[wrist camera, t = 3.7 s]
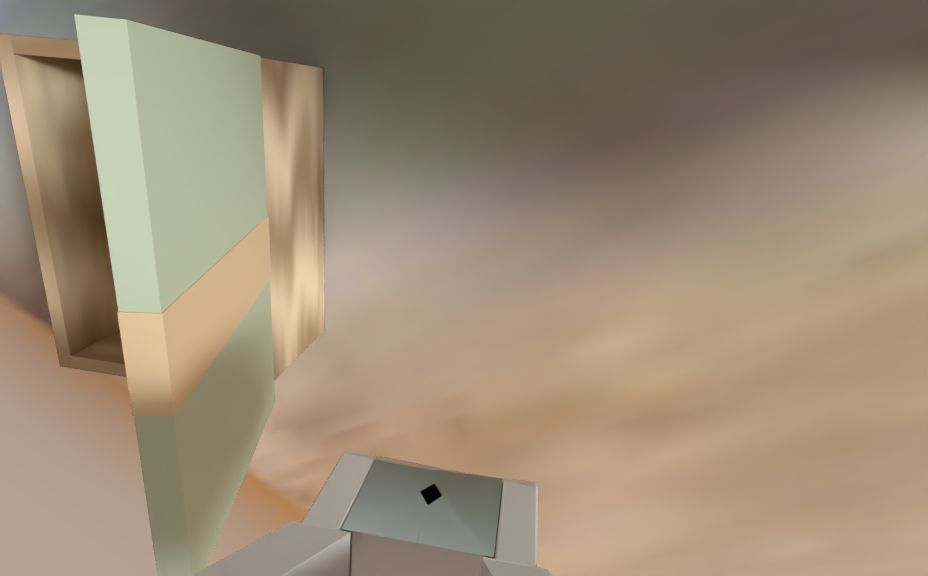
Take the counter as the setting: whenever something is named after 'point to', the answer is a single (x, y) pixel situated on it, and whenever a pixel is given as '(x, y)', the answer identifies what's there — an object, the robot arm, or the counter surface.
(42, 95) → the box
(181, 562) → the lid
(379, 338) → the counter surface
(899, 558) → the counter surface
